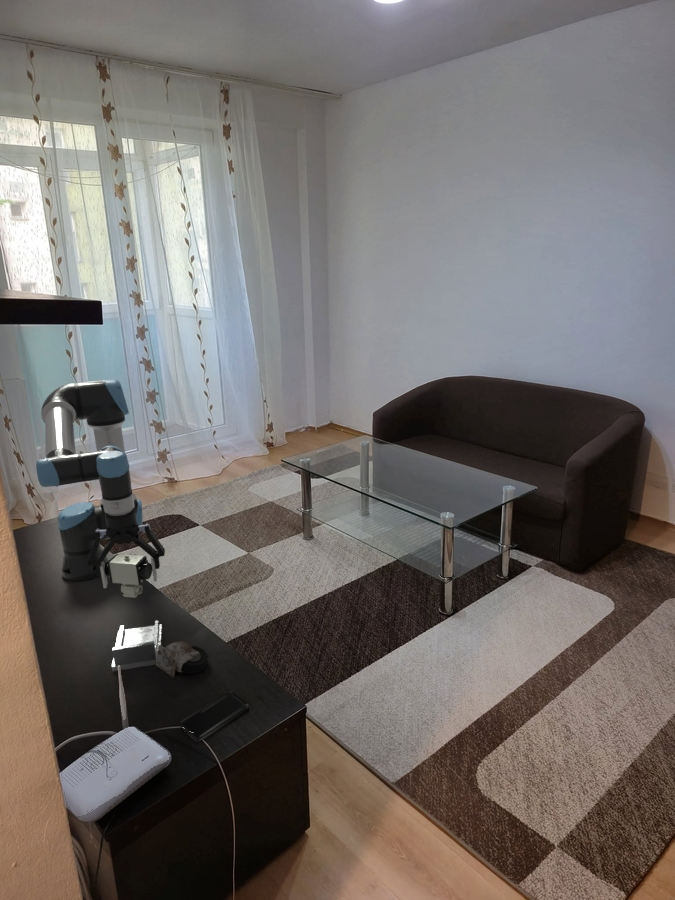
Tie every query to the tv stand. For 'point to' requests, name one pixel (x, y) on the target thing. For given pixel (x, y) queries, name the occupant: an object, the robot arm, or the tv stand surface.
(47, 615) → the tv stand surface
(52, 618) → the tv stand surface
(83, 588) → the tv stand surface
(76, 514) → the robot arm
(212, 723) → the phone
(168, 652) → the caster wheel
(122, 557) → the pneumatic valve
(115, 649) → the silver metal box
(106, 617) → the tv stand surface
